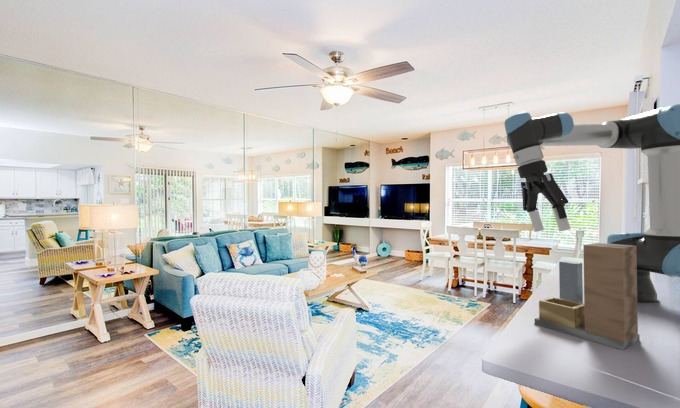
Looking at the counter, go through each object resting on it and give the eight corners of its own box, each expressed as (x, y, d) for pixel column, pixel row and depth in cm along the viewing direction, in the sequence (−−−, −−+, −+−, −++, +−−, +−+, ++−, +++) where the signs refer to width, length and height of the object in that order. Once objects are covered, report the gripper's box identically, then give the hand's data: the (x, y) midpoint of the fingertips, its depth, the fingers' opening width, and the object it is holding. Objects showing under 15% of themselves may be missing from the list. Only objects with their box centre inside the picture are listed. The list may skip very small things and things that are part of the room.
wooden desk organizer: (553, 317, 99) (552, 238, 99) (639, 340, 81) (638, 245, 81) (534, 323, 93) (533, 241, 94) (622, 350, 76) (620, 248, 76)
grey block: (564, 311, 104) (564, 260, 104) (583, 315, 100) (582, 262, 100) (559, 313, 102) (559, 261, 102) (578, 317, 98) (577, 263, 98)
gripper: (501, 173, 114) (519, 233, 111) (539, 156, 89) (563, 233, 86) (522, 168, 113) (541, 228, 111) (567, 149, 88) (592, 226, 86)
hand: (551, 230), depth 99 cm, fingers open, 13 cm apart
